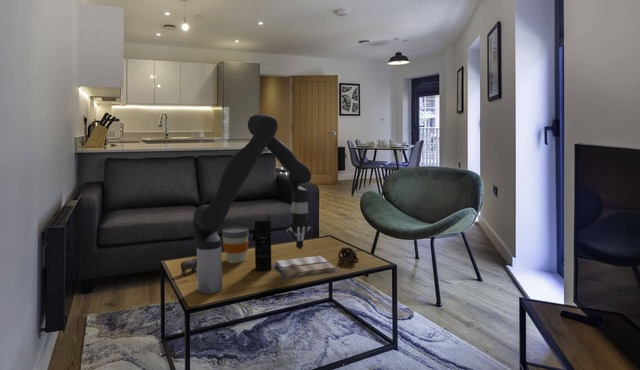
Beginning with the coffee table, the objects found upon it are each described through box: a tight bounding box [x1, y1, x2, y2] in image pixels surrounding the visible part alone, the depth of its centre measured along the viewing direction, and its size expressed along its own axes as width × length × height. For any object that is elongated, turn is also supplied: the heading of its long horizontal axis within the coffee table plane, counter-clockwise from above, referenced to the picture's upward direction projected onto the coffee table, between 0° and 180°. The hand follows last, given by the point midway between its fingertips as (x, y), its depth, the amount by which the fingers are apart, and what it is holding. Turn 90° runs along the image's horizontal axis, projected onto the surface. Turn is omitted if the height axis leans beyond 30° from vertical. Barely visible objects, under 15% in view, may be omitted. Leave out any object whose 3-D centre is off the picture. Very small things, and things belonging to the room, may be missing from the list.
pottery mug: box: [337, 246, 359, 265], centre depth 203 cm, size 12×10×8 cm
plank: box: [275, 255, 329, 271], centre depth 197 cm, size 22×9×2 cm, turn 112°
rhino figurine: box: [180, 257, 197, 277], centre depth 190 cm, size 4×14×6 cm, turn 147°
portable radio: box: [252, 213, 272, 272], centre depth 191 cm, size 8×6×25 cm
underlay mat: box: [271, 263, 342, 281], centre depth 194 cm, size 26×22×1 cm
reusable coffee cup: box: [221, 226, 250, 264], centre depth 205 cm, size 13×13×15 cm
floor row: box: [283, 262, 336, 277], centre depth 189 cm, size 22×7×2 cm, turn 112°
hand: (299, 248), depth 199 cm, fingers closed
